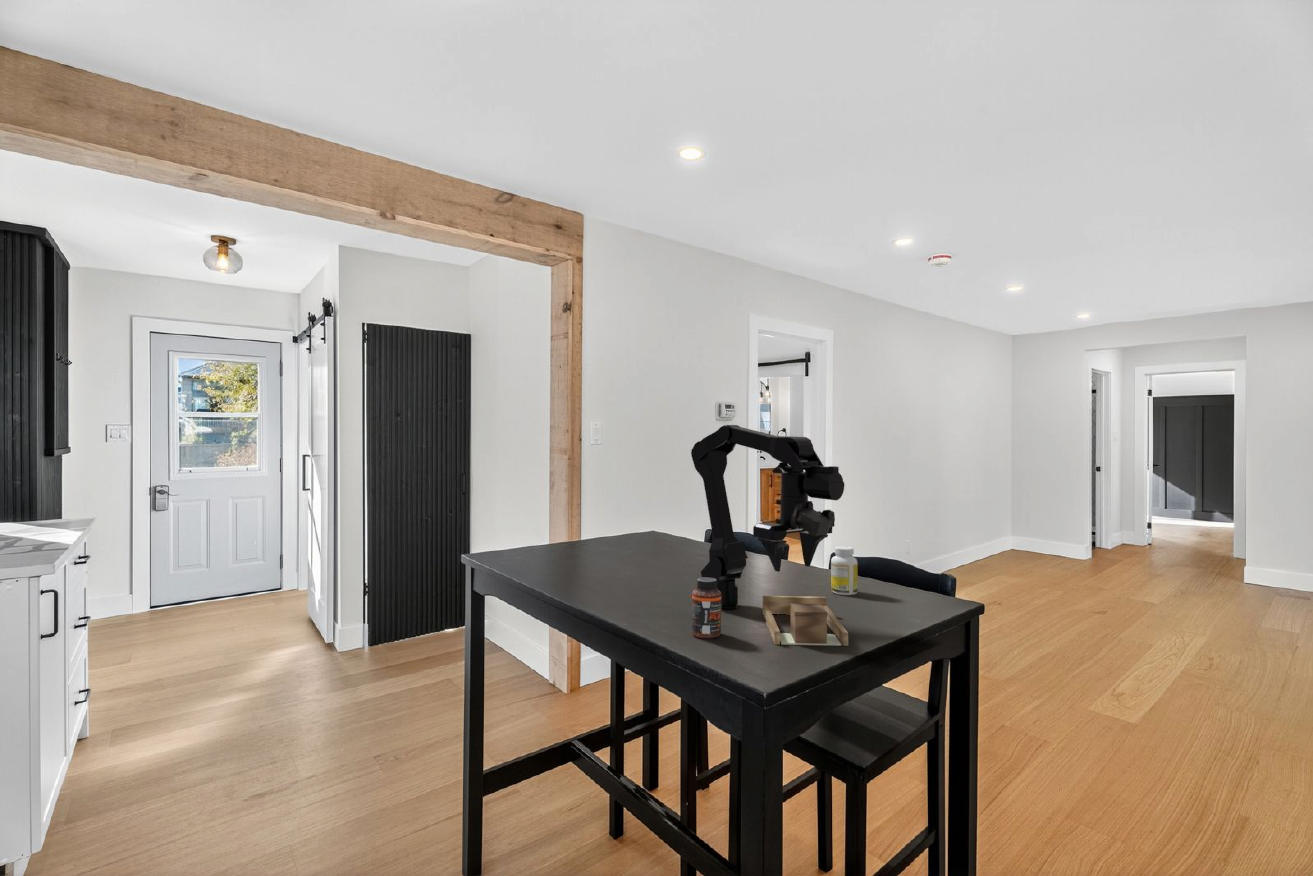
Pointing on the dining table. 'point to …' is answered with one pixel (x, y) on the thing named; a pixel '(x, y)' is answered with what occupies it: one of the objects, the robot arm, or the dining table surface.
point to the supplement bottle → (706, 609)
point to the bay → (783, 607)
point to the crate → (808, 623)
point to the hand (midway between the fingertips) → (792, 568)
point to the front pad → (788, 640)
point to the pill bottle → (844, 571)
